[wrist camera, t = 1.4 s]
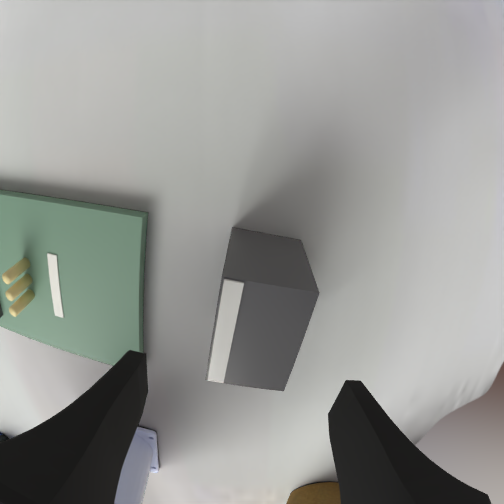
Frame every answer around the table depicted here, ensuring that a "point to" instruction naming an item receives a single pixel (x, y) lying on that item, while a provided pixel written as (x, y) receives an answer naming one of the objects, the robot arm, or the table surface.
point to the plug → (261, 310)
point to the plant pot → (316, 494)
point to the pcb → (72, 274)
